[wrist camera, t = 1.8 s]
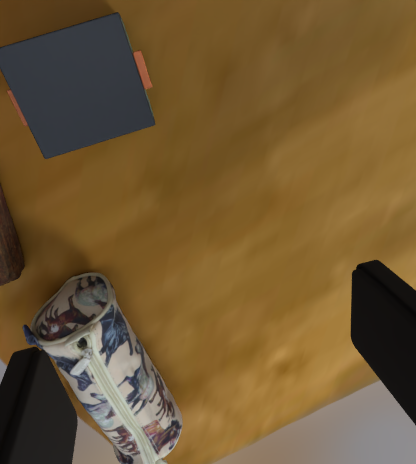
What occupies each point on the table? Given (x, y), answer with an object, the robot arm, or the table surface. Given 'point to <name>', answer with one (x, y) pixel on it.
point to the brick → (8, 246)
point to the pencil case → (108, 369)
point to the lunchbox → (78, 85)
